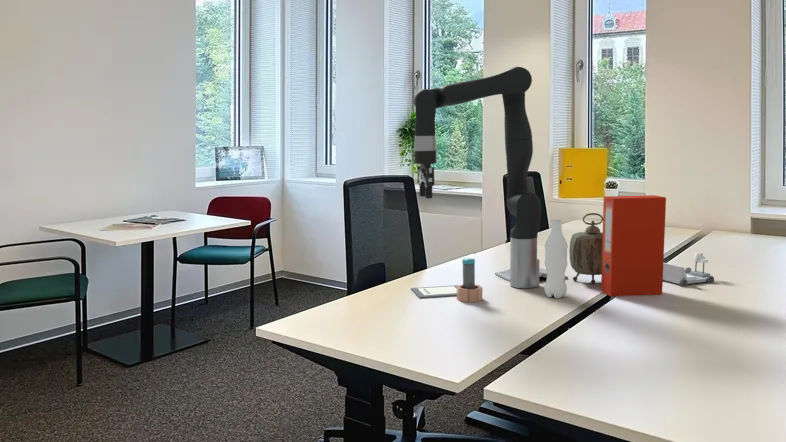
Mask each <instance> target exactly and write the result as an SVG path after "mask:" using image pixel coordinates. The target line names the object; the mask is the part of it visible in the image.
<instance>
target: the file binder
mask: <svg viewBox="0 0 786 442" xmlns="http://www.w3.org/2000/svg"><path fill="white" fill-rule="evenodd" d="M602 205H603V208H602V209H603V210H602V211H603V213H602V217H603V221H602V233H603V241H602V275H601V277H600V279H601V283H600V284H601V285H600V286H601V287H600V291H601V292H602V293H603V294H606V295H607V296H609V297H612V298H613V297H632V296H633V297H634V296H638V297H639V296H662V295H663V281H664V280H663V263H664V261H665V260H664V255H665V233H666V232H665V230H666V208H667V207H666V206H667V197H665V196H661V195H660V196H659V195H655V194H654V195H652V194H651V195H647V194H646V195H616V196H615V195H612V196H603V204H602Z"/></svg>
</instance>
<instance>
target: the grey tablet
mask: <svg viewBox="0 0 786 442" xmlns="http://www.w3.org/2000/svg"><path fill="white" fill-rule="evenodd" d="M457 286H459V284H457V285H441V286H425V287H424V286H423V287H410V290H411V292H413V294H415V296H417V298H419V299H430V298H431V299H432V298H433V299H434V298H446V297H457Z"/></svg>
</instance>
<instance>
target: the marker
mask: <svg viewBox="0 0 786 442" xmlns="http://www.w3.org/2000/svg"><path fill="white" fill-rule="evenodd" d="M461 261H462V263H461V264H462V285H463V289H475V285H476V276H475V275H476V273H475V272H476V271H475V270H476V269H475V265H476V264H475V263H476V259H475V258H462V260H461Z"/></svg>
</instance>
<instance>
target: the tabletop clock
mask: <svg viewBox="0 0 786 442" xmlns="http://www.w3.org/2000/svg"><path fill="white" fill-rule="evenodd" d="M588 216H598V217H600V218H601V220H600V221H598V222H595V221H594V220H591V222H587V221H585V219H586V218H587V217H588ZM582 221H583V223H584V224H585V225H589V226H587V227H586V228H585V230H584V231H581V232H576V233H573V234H572V235H571V238H570V242H569V249H568V250H569V251H568V255H569V264H570V266H571V268H572V270H573V271H574V272H575V273H576V275H575V276H573V277H572V280H573V281H574V282H577V281H578V277H579V275H587V276H591V280H590V284H592V285H596V279H595V276H602V241H603V231H602V232H601V230H600V228H599V227H598V225H601V224H603V215H601V214H600V213H597V212H591V213H586V214H585V215H583V218H582Z"/></svg>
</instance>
